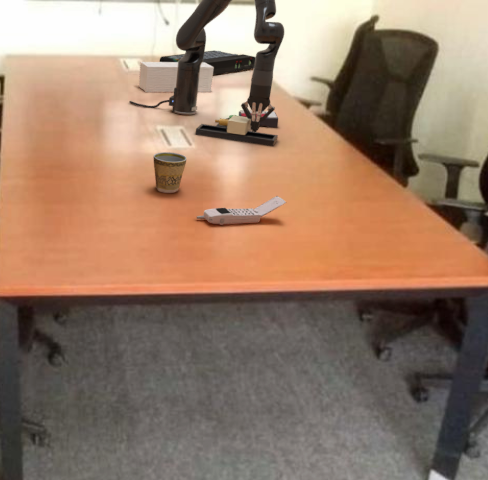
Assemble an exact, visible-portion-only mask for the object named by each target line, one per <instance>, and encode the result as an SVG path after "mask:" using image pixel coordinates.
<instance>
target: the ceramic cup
mask: <svg viewBox="0 0 488 480" xmlns="http://www.w3.org/2000/svg"><path fill="white" fill-rule="evenodd" d="M186 163H187V156H186V155H184V154H181V153H177V152H170V151H169V152H168V151H162V152H161V151H160V152H157V153H154V154H153V168H154V178H155V179H154V181H155V188H156V190H157V191H158V192H160V193H164V194H174V193H177V192H179V189H180V186H181V182H182V178H183V174H184V171H185V168H186Z"/></svg>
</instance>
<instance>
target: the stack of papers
mask: <svg viewBox="0 0 488 480" xmlns="http://www.w3.org/2000/svg"><path fill="white" fill-rule="evenodd" d="M177 68H178V62H160V61H140V63H139V78H138V87H139V88H140V89H141V90H143V91H144V92H145V93H174V88H175V87H176V79H177ZM213 69H214V67H212V66H211V65H209V64H207V63H205V62H202V64H201V66H200V75H199V85H198V93H211V92H212V85H213V78H214V77H213V76H214V75H213Z"/></svg>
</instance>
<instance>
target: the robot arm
mask: <svg viewBox="0 0 488 480" xmlns="http://www.w3.org/2000/svg"><path fill="white" fill-rule="evenodd" d="M232 1H233V0H201V1H200V2H199V3H198V5H197V7H196V8H195V9H194V11H192V13H191V15H190V16H189V17H188V18H187V19H186V20H185V22H184V23H182V25H181V26H180V28H178V30H177V33H176V35H175V45H176V47H177V48H178V50H180V51H183V52H185V53H183V54H184V56H183V57H182V58H181V59H180V60H179V61H178V68H177V79H176V87H175V88H174V92H173V94H172V95H171V96H170V97H168V99H165V100H161V101H159V102H158V103H156V104H155V105H147V104H142V103H137V102H134V101H132V100H129V104H132V105H135V106H138V107H143V108H146V109H147V108H148V109H156V108H158V107H159V106H160V105H162V104H166V103H168V106H169V107H171V108H172V109H171V112H172V113H174V114H177V115H182V116H193V115H196V113H197V110H198V106H197V102H198V93H199V92H198V85H199V75H200V66H201V64H202V62H203V58H204V52H206V44H207V33H206V29H205V27H206V26H207V25H208V24H210V23H211V22H212V21H213V20H215V19H216V18H217V17H219V16H220V15H221V14H223V12H224V11H226V9H227V8H228V6H230V4H231V3H232ZM254 8H255V23H254V29H253V39H254V40H255V42H256V43H257V44H259V45H268V46H267V47H266V48H265V49H262V50H259V51H256V54H255V57H256V58H255V64H254V69H253V71H252V75H251V79H250V88H249V95H248V98H247V99H246V101H244V102H242V103H241V105H240V107H241V109H242V110H243V111H244V113H245V114H246V116H247V118H248V119H251V120H252V123H251V127H250V131H252V132H258V131H259V129H260V126H259V124H260V121H264V120H265V119H266V118H267V117H268V116H269V115H270V114H271V113H272V112H273V111H274V112H275V109H276V107H275V106H273V105H272V103H271V93H272V87H273V86H272V85H273V79H274V69H275V62H276V58H277V56H278V52H279V50H280V47H281V45H282V43H283V39H284V37H285V26H284V24H283V23H282V22H279V21H268V20H270V19H273V18H274V17H275V16H276V14H277V5H276V0H254ZM248 107H249V108H250V109H249V108H248ZM266 109H267V110H266ZM249 110H251V111H252V115H251V113H250V111H249ZM265 110H266V111H268V112H267V113H266V114H265V115H264V116H263V117H261V115H262V112H263V111H265ZM257 112H258V113H257ZM256 114H257V118H256Z"/></svg>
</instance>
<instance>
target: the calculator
mask: <svg viewBox="0 0 488 480" xmlns="http://www.w3.org/2000/svg"><path fill="white" fill-rule="evenodd" d="M249 111H250V113H251V115H252V110H251V109H249ZM267 112H268V110H266V111H265V110H264V111H263V112H262V115H261V117H263V116H264V115H265V114H266V113H267ZM257 113H258V112H257ZM238 116H242V117H247V116H246V114H245V113H244V111H243V109H242V110H239V111H238ZM256 118H257V114H256ZM251 123H252V120H251ZM250 125H251V124H250ZM278 125H279V117H278V115H277V113H276V111H275V110H274V111H273V112H272V113H271V114H270V115H269V116H268V117H267V118H266V119H265V120H264V121H260V124H259V127H267V128H274V129H275V128H278V127H279V126H278Z"/></svg>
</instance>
